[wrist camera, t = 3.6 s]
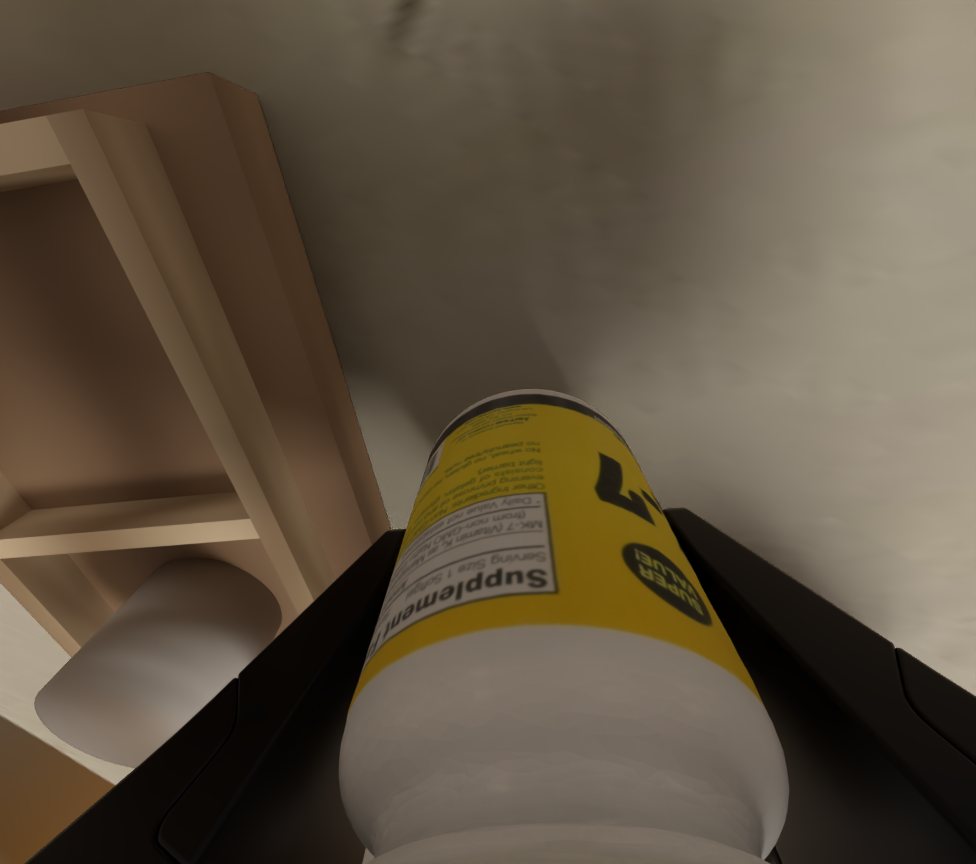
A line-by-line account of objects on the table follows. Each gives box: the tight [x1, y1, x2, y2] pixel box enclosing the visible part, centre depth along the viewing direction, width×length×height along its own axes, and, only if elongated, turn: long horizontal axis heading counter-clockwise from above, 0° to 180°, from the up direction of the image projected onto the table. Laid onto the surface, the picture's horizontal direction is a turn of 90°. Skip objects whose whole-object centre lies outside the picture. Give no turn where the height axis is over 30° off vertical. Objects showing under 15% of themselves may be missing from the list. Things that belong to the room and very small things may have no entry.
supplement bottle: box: [339, 389, 789, 864], centre depth 6 cm, size 5×5×8 cm
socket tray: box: [0, 72, 391, 768], centre depth 12 cm, size 11×24×5 cm, turn 7°
